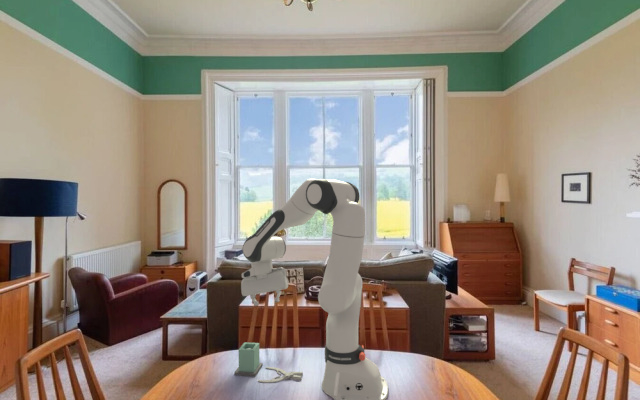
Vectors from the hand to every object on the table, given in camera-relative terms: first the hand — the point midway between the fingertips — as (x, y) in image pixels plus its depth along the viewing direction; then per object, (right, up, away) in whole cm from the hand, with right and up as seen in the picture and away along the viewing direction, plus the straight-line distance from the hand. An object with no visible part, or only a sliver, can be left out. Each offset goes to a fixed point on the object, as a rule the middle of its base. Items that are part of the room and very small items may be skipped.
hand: (266, 303), depth 138 cm
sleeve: (-4, -20, -14) cm, 24 cm away
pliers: (+8, -21, -18) cm, 29 cm away
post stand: (-5, -21, -14) cm, 25 cm away
